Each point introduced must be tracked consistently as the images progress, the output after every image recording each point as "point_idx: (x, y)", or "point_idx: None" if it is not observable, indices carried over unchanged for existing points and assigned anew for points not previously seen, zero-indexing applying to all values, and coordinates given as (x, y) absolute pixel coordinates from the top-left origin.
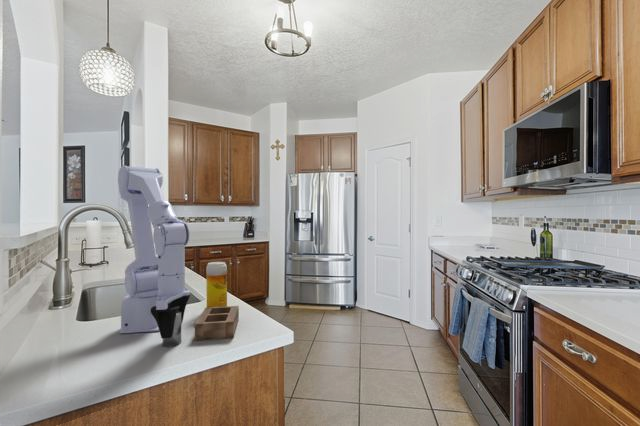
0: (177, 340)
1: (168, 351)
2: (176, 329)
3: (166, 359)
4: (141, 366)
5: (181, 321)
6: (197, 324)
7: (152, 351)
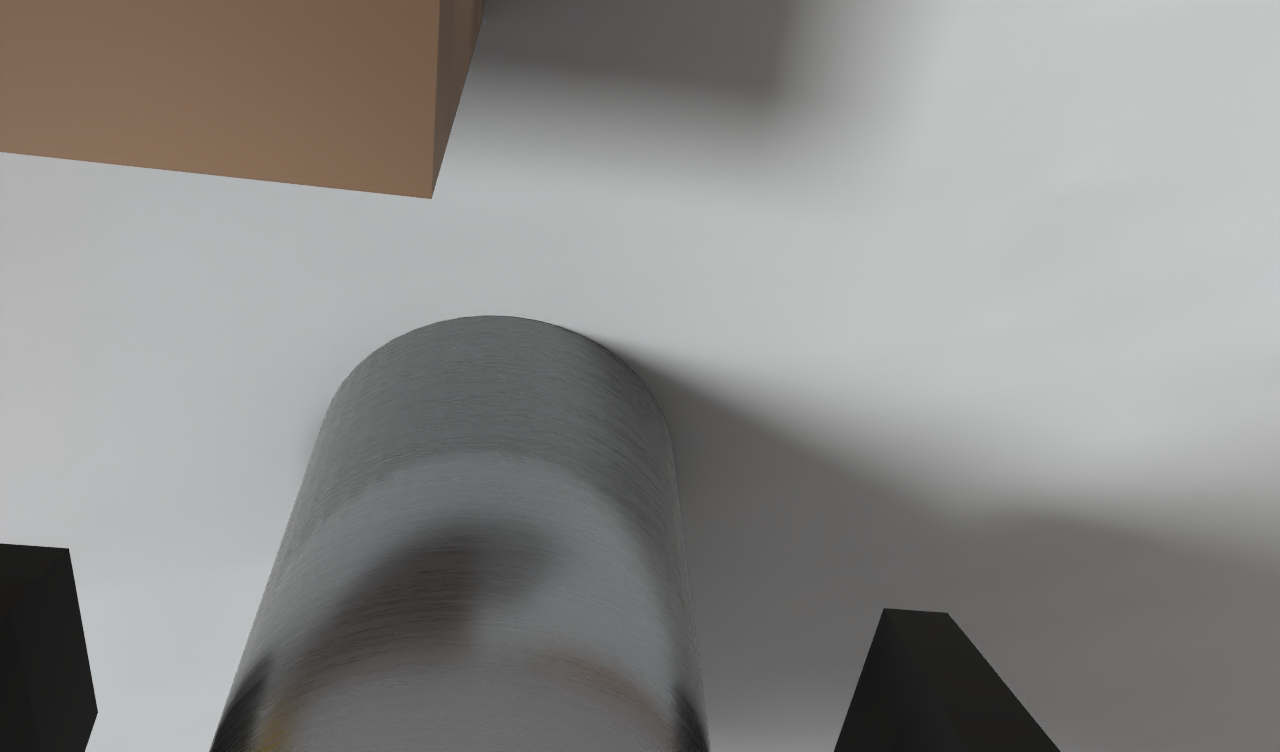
0: (628, 421)
1: (879, 464)
2: (660, 625)
3: (1218, 438)
4: (1249, 688)
5: (12, 616)
6: (437, 89)
7: (765, 673)
